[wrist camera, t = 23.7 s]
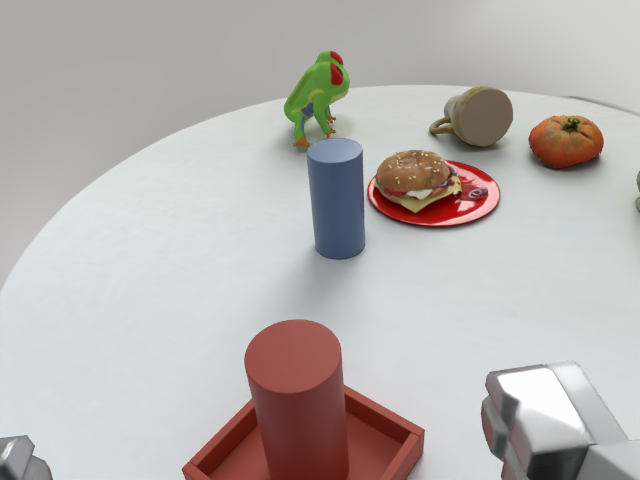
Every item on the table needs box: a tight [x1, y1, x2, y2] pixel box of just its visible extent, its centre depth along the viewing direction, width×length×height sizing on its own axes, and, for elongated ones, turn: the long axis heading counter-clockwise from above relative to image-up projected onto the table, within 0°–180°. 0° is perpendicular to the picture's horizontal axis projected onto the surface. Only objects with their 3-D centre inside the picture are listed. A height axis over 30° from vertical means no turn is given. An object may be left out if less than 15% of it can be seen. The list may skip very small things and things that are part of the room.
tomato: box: [528, 115, 604, 169], centre depth 61 cm, size 8×7×7 cm
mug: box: [429, 86, 513, 146], centre depth 66 cm, size 8×10×10 cm
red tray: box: [182, 385, 425, 480], centre depth 31 cm, size 10×10×2 cm
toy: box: [284, 51, 350, 147], centre depth 70 cm, size 14×9×10 cm, turn 178°
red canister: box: [244, 320, 349, 480], centre depth 29 cm, size 5×5×10 cm
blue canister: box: [306, 138, 365, 259], centre depth 48 cm, size 5×5×10 cm
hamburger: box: [368, 150, 500, 226], centre depth 55 cm, size 14×14×6 cm
